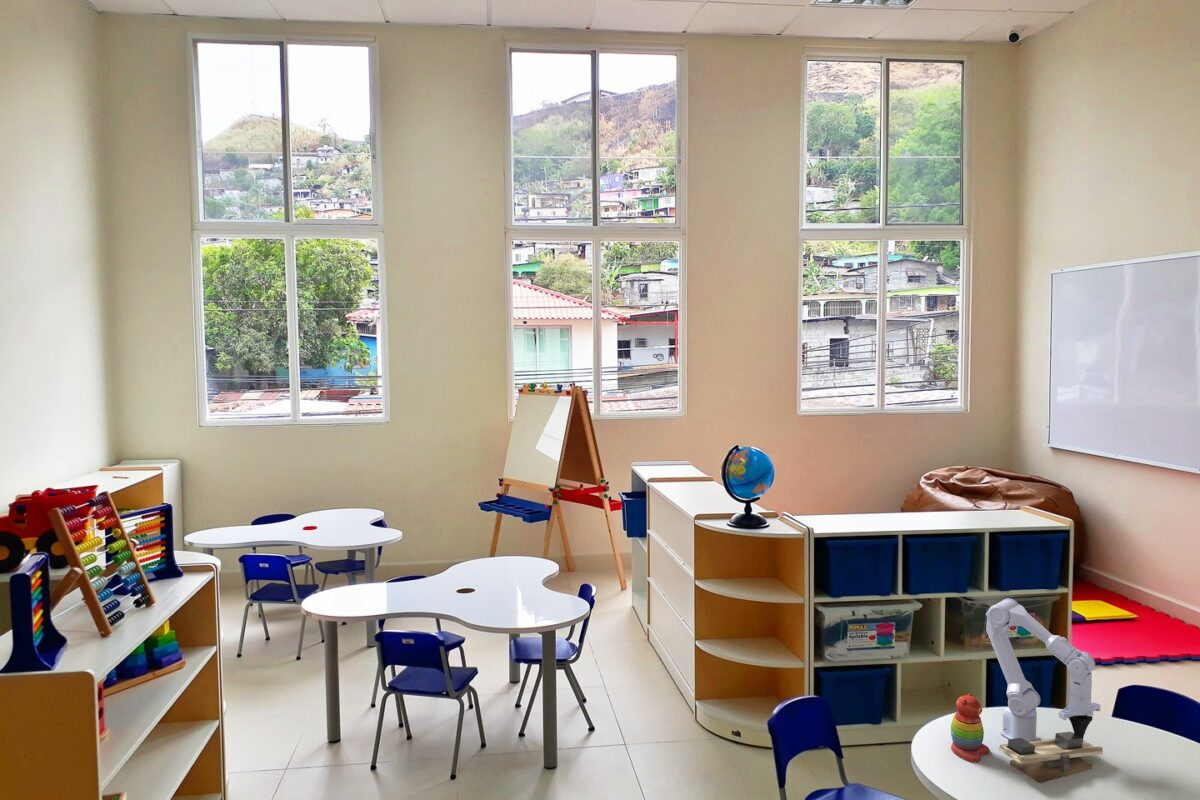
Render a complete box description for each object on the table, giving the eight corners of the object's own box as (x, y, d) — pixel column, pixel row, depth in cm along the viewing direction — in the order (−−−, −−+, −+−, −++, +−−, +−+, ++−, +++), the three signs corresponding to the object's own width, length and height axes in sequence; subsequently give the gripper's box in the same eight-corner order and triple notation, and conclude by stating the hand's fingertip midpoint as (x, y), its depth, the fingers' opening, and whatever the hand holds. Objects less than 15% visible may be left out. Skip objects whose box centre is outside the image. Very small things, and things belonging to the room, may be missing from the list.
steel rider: (1054, 744, 256) (1055, 733, 256) (1069, 742, 258) (1070, 731, 258) (1066, 751, 252) (1068, 739, 252) (1081, 749, 254) (1083, 738, 254)
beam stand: (1009, 764, 255) (1010, 745, 254) (1060, 750, 262) (1061, 732, 261) (1040, 783, 245) (1040, 763, 244) (1092, 768, 251) (1092, 749, 251)
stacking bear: (976, 764, 256) (977, 708, 254) (943, 752, 263) (944, 697, 261) (992, 751, 263) (993, 696, 261) (960, 739, 270) (961, 686, 268)
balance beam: (998, 750, 251) (999, 744, 251) (1079, 741, 262) (1080, 735, 262) (1020, 763, 244) (1021, 757, 243) (1102, 754, 255) (1103, 748, 254)
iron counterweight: (1007, 749, 250) (1008, 739, 250) (1020, 747, 252) (1021, 737, 252) (1020, 757, 245) (1022, 747, 245) (1034, 755, 247) (1035, 745, 247)
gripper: (1073, 704, 248) (1072, 748, 250) (1110, 695, 253) (1108, 738, 255) (1053, 694, 255) (1052, 737, 257) (1089, 685, 260) (1087, 727, 261)
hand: (1078, 737), depth 256 cm, fingers closed
